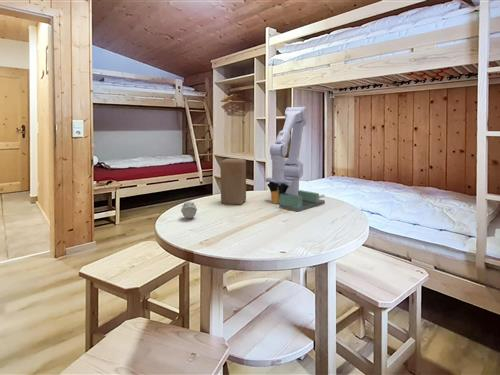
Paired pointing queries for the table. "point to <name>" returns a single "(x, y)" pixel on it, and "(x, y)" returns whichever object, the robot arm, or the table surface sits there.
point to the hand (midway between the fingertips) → (277, 198)
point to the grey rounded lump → (189, 210)
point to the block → (233, 181)
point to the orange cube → (275, 196)
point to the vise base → (304, 205)
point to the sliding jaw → (310, 196)
